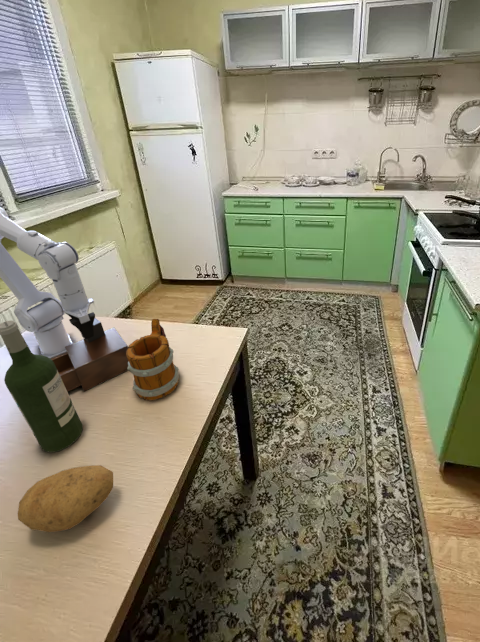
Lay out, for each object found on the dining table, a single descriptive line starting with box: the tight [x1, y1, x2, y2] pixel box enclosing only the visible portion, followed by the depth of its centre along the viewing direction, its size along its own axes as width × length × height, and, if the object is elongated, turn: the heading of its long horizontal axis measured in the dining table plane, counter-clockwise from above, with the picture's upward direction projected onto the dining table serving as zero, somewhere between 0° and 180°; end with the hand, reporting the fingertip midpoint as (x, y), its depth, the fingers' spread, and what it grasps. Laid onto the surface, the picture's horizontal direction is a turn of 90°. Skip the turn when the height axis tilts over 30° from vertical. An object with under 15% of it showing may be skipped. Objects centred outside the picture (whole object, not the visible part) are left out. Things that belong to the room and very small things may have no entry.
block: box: [80, 317, 105, 343], centre depth 90 cm, size 4×4×4 cm
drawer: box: [50, 352, 82, 393], centre depth 82 cm, size 16×10×6 cm, turn 132°
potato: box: [17, 464, 114, 533], centre depth 56 cm, size 10×14×8 cm
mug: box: [126, 318, 180, 401], centre depth 83 cm, size 11×16×15 cm, turn 5°
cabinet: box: [65, 327, 129, 392], centre depth 88 cm, size 13×12×8 cm
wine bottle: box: [0, 320, 84, 453], centre depth 64 cm, size 8×8×30 cm
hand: (87, 333), depth 89 cm, fingers closed on block, 4 cm apart
